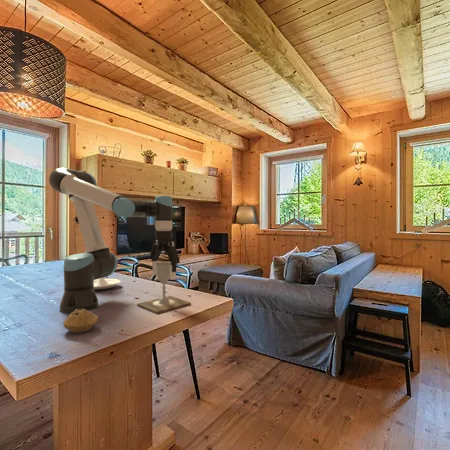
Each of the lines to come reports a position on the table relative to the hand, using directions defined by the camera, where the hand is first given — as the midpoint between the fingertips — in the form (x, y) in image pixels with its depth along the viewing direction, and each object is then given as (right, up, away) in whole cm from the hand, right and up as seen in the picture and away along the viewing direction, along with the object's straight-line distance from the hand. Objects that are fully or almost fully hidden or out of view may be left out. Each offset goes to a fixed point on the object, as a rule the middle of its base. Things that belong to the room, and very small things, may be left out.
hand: (163, 277), depth 131 cm
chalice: (0, -12, 0) cm, 12 cm away
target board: (0, -13, 0) cm, 13 cm away
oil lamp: (-24, -14, -28) cm, 39 cm away
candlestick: (-44, -12, +31) cm, 55 cm away
